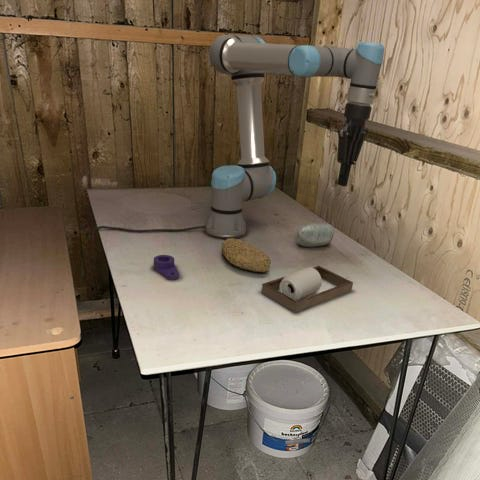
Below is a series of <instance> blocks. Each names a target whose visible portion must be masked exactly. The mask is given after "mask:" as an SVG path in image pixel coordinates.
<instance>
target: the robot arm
mask: <svg viewBox="0 0 480 480" xmlns="http://www.w3.org/2000/svg"><path fill="white" fill-rule="evenodd" d="M384 55H385V46H384V44H382V43H378V42H377V43H376V42H369V41H359V42H358V44H357V47H356V48H349V47H340V46H335V45H330V46H329V45H327V46H318V45H310V44H302V45H298V44H286V43H285V44H283V43H282V44H281V43H267V42H266V41H264V39H262V38H261V37H258V36H254V35H251V34H250V35H243V34H222V35H219V36H217V37H216V38H215V39H214V40H213V41H212V42H211V43H210V47H209V50H208V58H209V62H210V64H211V66H212V68H213V69H214V70H215V71H217V72H218V73H220V74H223V75H230V80H231V83H232V84H233V86H235V90H236V102H237V103H236V104H237V116H238V117H237V118H238V129H239V140H240V141H239V143H240V155H241V157H240V160H239V161H238V162H237V165H236V164H235V165H233V164H231V165H222V166H219V167H217V168H215V169H214V170H213V172H212V174H211V181H210V212H209V214H208V218H207V220H206V222H205V225H200V226H199V225H198V226H192V227H184V228H152V229H151V228H150V229H133V228H126V227H125V228H124V227H118V226H109V225H108V226H107V225H99V226H96V227H95V228H94V229H93V231H94V232H97V230H100V229H108V230H117V231H118V230H119V231H124V232H125V231H126V232H130V233H131V232H133V233H149V232H150V233H151V232H184V231H190V230H197V229H198V230H199V229H204V231H205V233H206V234H207V235H208V236H210V237H213V238H216V239H223V240H227V239H230V238H234V239H239V238H242V237H244V236H245V235H246V233H247V227H246V221H245V219H244V215H243V205H244V203H245V202H249V201H253V200H260V199H263V198H265V197H268V196H270V195H271V194H272V193H273V192H274V190H275V188H276V185H277V174H276V171H275V170H274V168H273V167H272V166H271V165H270V160H269V159H268V158H267V157H266V156H265V138H264V137H265V136H264V122H263V106H262V105H263V101H262V83H263V82H264V80H265V73H267V74H268V73H271V74H279V75H290V76H296V77H299V78H316V77H318V78H319V77H321V78H326V77H327V78H328V77H329V78H343V79H348V80H349V79H350V82H349V87H348V92H347V97H346V102H347V103H345V107H344V112H343V116H344V117H345V118H346V119H345V122H344V124H343V127H342V129H341V128H338V129H337V136H338V138H337V139H338V140H337V141H338V142H337V154H336V156H337V157H336V161H337V163H339V164H340V167H339V172H338V179H337V183H336V185H337V186H342V187H347V186H348V182H349V178H350V173H351V169H352V165H353V166H355V165H356V163H357V161H358V160H359V157H360V153H361V151H362V148H363V145H364V142H365V139H366V137H367V135H368V133H369V129H368V128H365V126H366V121H368V120H370V117H371V113H372V109H373V108H372V106H371V105H373V104H374V99H375V96H376V90H377V86H378V81H379V77H380V73H381V69H382V65H383V64H384V63H383V61H384Z"/></svg>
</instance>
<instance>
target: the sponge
mask: <svg viewBox="0 0 480 480" xmlns="http://www.w3.org/2000/svg"><path fill="white" fill-rule="evenodd" d="M221 253H222V254H223V256H224V257H225V259H226V260H227V261H228V262H229V263H230V264H231V265H233V266H235V267H238V268H240V269H242V270H248V271H251V272H256V273H257V272H258V273H265V272H267V271H269V270H270V269H271V264H272V260H271V258H270V257H269V256H268V254H267V253H266V252H264V250H261V249H260V248H259V247H257V246H255V245H253V244H248V243H247V242H244V241H243V240H241V239H239V238H230V239H224V241H222V243H221Z"/></svg>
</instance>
